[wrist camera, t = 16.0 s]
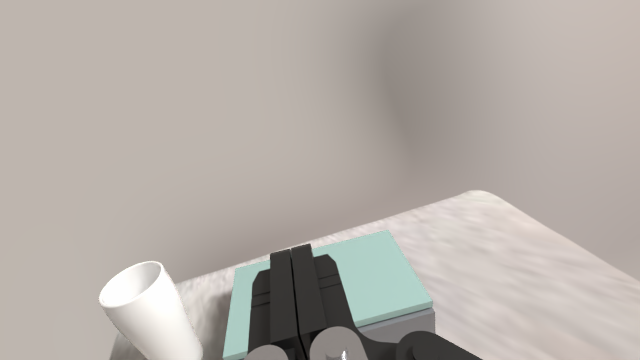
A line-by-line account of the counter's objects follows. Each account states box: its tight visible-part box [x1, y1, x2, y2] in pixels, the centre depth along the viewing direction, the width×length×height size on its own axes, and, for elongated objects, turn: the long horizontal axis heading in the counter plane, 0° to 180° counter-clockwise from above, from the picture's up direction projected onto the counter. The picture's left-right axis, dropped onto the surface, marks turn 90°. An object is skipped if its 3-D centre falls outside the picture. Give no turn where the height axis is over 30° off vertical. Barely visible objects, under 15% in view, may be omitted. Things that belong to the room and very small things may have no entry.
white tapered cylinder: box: [99, 261, 203, 360], centre depth 36 cm, size 7×7×15 cm
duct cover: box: [223, 230, 433, 360], centre depth 39 cm, size 24×14×1 cm, turn 99°
